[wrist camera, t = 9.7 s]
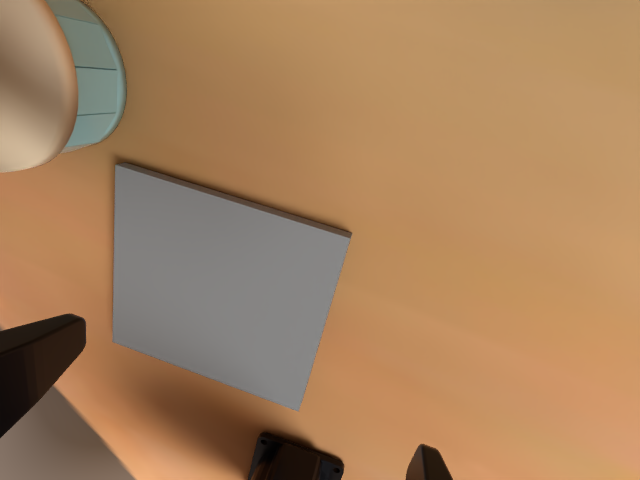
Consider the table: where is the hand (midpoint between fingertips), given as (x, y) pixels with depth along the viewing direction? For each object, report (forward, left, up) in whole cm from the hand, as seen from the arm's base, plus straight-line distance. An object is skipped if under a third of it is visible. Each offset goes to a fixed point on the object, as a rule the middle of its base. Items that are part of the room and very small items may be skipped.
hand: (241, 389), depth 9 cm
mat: (-7, +6, -12) cm, 15 cm away
